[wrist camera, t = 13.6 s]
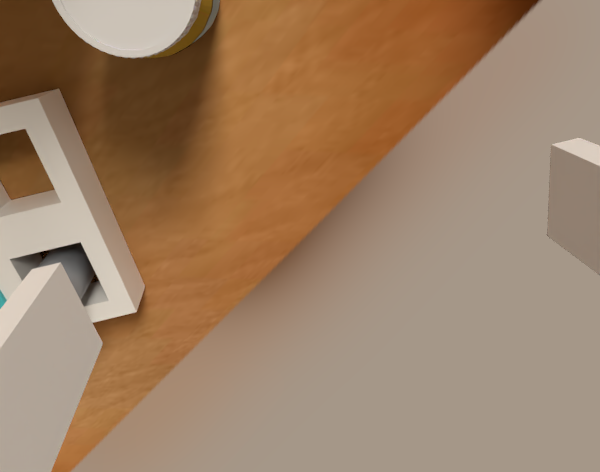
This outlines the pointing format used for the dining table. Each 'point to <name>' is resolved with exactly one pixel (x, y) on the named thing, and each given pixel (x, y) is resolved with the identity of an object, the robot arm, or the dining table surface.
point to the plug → (72, 265)
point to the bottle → (139, 24)
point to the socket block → (64, 211)
